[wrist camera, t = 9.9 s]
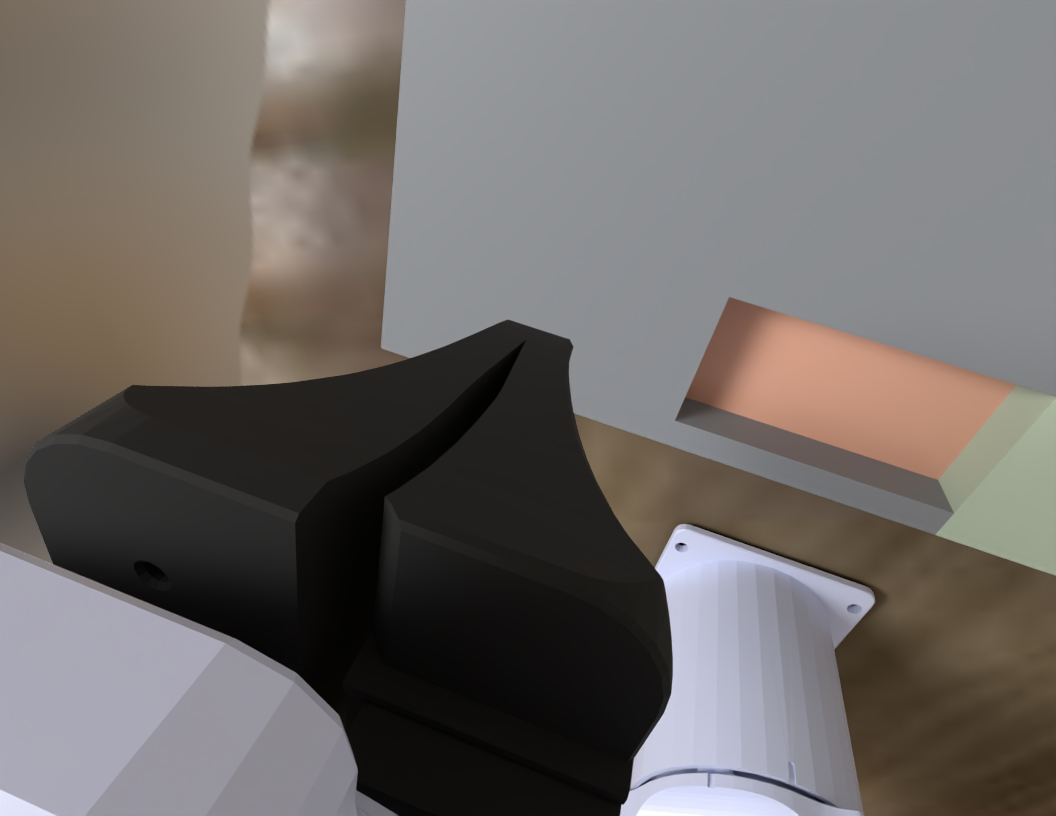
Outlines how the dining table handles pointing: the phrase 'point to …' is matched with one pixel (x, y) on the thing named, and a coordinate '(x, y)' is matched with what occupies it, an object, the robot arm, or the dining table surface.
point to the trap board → (757, 234)
